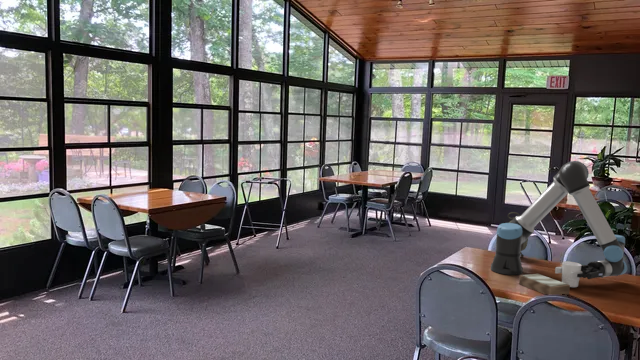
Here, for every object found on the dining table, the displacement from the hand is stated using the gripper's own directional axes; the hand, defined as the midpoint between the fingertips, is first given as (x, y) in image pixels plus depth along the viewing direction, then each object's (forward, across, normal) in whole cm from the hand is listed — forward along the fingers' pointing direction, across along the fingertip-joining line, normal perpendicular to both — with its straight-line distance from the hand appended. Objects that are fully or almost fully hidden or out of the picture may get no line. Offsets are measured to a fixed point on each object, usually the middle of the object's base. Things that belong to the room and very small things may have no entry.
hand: (563, 272), depth 233 cm
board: (+9, +2, -7) cm, 12 cm away
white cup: (-5, 0, -6) cm, 8 cm away
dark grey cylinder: (-21, +53, -8) cm, 57 cm away
